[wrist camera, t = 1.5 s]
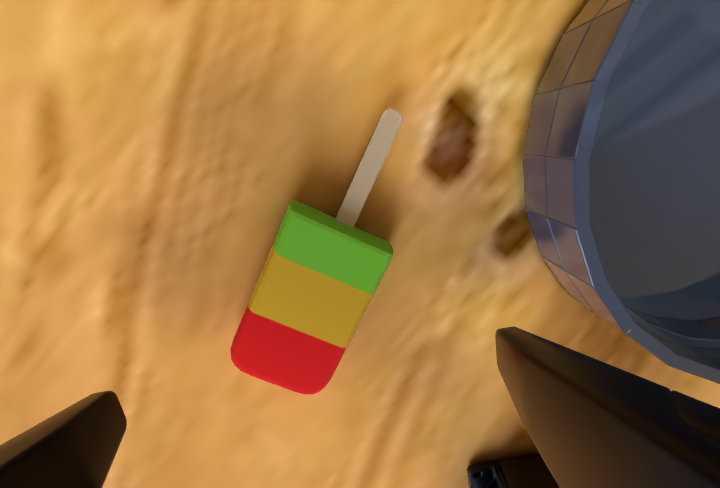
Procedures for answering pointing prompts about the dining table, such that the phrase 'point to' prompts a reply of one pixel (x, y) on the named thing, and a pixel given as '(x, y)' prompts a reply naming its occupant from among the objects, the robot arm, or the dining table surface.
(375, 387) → the dining table surface
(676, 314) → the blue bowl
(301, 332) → the popsicle
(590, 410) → the robot arm
